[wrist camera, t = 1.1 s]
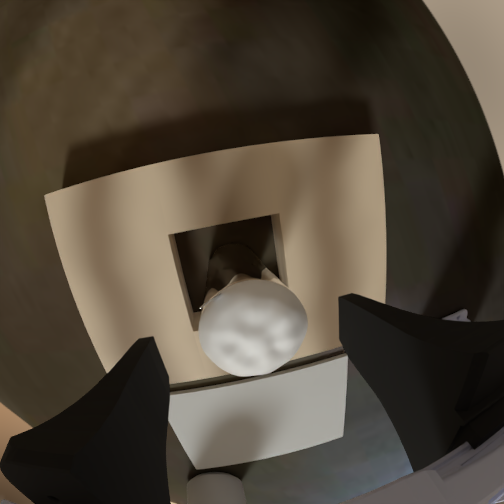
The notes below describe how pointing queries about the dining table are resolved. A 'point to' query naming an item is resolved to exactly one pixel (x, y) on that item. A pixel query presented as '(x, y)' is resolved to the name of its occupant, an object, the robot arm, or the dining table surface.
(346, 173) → the pocket holder
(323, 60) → the dining table surface
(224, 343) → the milkshake
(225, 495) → the beverage can
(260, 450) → the grey mat
